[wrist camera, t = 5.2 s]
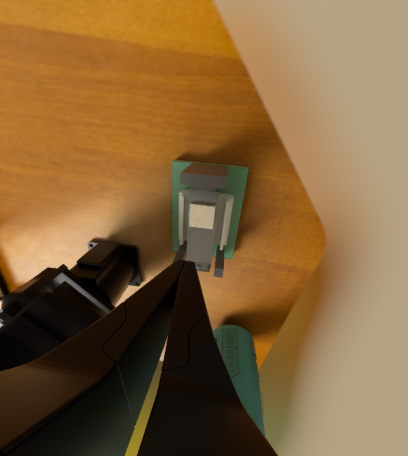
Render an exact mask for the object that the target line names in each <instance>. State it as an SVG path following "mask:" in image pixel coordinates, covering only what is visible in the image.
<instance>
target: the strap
mask: <svg viewBox="0 0 408 456" xmlns="http://www.w3.org/2000/svg"><path fill="white" fill-rule="evenodd" d="M219 193H220V190H218V189H216V190H215V191H210V190H201V189H192V188H191V187H190V188H189V198H188V227H187V256H186V261H194V262H195V265H196V269H197V271H204V272H209V270H210V268H211V261H212V253H213V244H214V236H215V227H216V219H217V210H218V202H219Z"/></svg>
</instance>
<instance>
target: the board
mask: <svg viewBox="0 0 408 456" xmlns="http://www.w3.org/2000/svg"><path fill="white" fill-rule="evenodd" d="M248 170H249V168H248V166H237V165H227V164H217V163H206V162H196V161H185V160H173V161H172V251H176V252H177V254H176V256H175V258H174V261H173V263H174V262H175V261H176V260H178V259H180V260H185V258H186V256H187V227H188V198H189V188H190V187H191V188H192V189H201V190H210V191H215V190H216V189H218V190H220V193H219V202H218V210H217V219H216V227H215V236H214V244H213V253H212V256H213V257H216V260H215V270H214V276H216V277H222V276H223V269H224V258H228V259H232V258H233V253H234V247H235V242H236V236H237V231H238V225H239V220H240V214H241V209H242V203H243V198H244V192H245V187H246V181H247V176H248Z"/></svg>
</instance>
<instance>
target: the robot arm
mask: <svg viewBox="0 0 408 456" xmlns="http://www.w3.org/2000/svg"><path fill="white" fill-rule="evenodd" d="M88 248H89V251H88V252H87V253H86V254H85V255H83V256H82V257H81V258H80V259H79V260H78V261H77V264H76V265H75V266H74V267H73V268H72V269H70V270H69V269H67V268H68V267H67V266H65V265H64V264H63V265H61V266H60V267H59V268H57V269H56V268H49V267H48V268H46V269H45V270H44V271H42V272H41V273H40V274H38V275H37V276H35V277H34V278H33V279H31V280H30V281H28V282H27V283H25V284H23V285H22V286H20V287H19V288H17V289H16V290H14V291H12V292H11V293H9V294H8V295H7V296H5V297H4V298H3V299H2V306H1V309H0V456H125V453H126V450H127V447H128V445H129V442H130V439H131V436H132V434H133V431H134V426H135V425H136V422H137V420H138V417H139V414H140V411H141V409H142V406H143V403H144V400H145V398H146V395H147V392H148V389H149V387H150V384H151V381H152V378H153V375H154V373H155V370H156V367H157V364H158V362H159V359H160V356H161V353H162V351H163V348H164V345H165V342H166V340H167V345H166V350H165V355H164V361H163V366H162V373H161V377H160V382H159V386H158V390H157V395H156V398H155V401H154V404H153V407H152V410H151V414H150V417H149V420H148V423H147V426H146V429H145V433H144V435H143V439H142V442H141V445H140V448H139V451H138V454H137V456H278V455H277V454H276V452H275V451H274V449H273V448H272V446H271V445H270V444H269V442H268V441H267V439H266V438H265V436H264V435H263V434H262V432H261V431H260V429H259V428H258V426H257V425H256V424H255V422H254V421H253V419H252V418H251V416H250V415H249V414H248V412H247V411H246V409H245V407H244V406H243V404H242V402H241V400H240V398H239V396H238V394H237V392H236V389H235V387H234V385H233V382H232V380H231V377H230V375H229V372H228V370H227V367H226V365H225V363H224V360H223V358H222V355H221V353H220V350H219V348H218V345H217V342H216V340H215V337H214V334H213V330H212V327H211V324H210V320H209V316H208V312H207V308H206V305H205V301H204V297H203V293H202V289H201V285H200V281H199V277H198V273H197V269H196V265H195V262H194V261H185V260H180V259H178V260H176V261H175V262H174V263H172V264H171V265H170V266H169V267H167V268H166V269H165V270H163V271H162V272H161V273H160V274H158V275H157V276H156V277H154V278H153V279H152V280H151V281H149V282H148V283H147V284H145V285H144V286H143V287H142V288H140V289H139V290H138V291H136V292H135V293H134V294H133V295H131V296H130V297H129V298H127V299H126V300H125V302H122V303H121V304H120V305H118V306H117V307H115V305H116V304H117V302H118V301H119V299H120V298H121V296H122V295H123V293H124V292H125V290H126V288H127V287H128V285H132V286H140V285H141V283H142V280H141V271H140V263H139V254H138V248H137V247H135V246H130V245H123V244H117V243H109V242H102V241H93V240H92V241H90V242H88ZM133 250H134V251H133ZM137 282H138V283H137ZM167 337H168V339H167Z"/></svg>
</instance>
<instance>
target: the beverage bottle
mask: <svg viewBox="0 0 408 456" xmlns="http://www.w3.org/2000/svg"><path fill="white" fill-rule="evenodd" d="M213 334H214V337H215V340H216V342H217V345H218V348H219V350H220V353H221V355H222V358H223V360H224V363H225V365H226V367H227V370H228V372H229V375H230V377H231V380H232V382H233V385H234V387H235V389H236V392H237V394H238V396H239V398H240V400H241V402H242V404H243V406H244V407H245V409H246V411H247V412H248V414H249V415H250V416H251V418H252V419H253V421H254V422H255V424H256V425H257V426H258V428H259V429H260V431H261V432H262V434H263V435H264V436H265V431H264V423H263V415H262V403H261V395H260V387H259V380H258V378H259V376H258V373H257V370H258V369H257V365H256V363H257V362H256V360H257V358H256V357H255V356H256V354H255V350H254V345H255V344H254V342H253V338H252V336H251V334H250V333H249V332H248V331H247V330H246V329H244V328H242V327H240V326H236V325H223V326H220V327H217V328H216V329H215V330H214V331H213ZM255 349H256V348H255Z"/></svg>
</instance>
